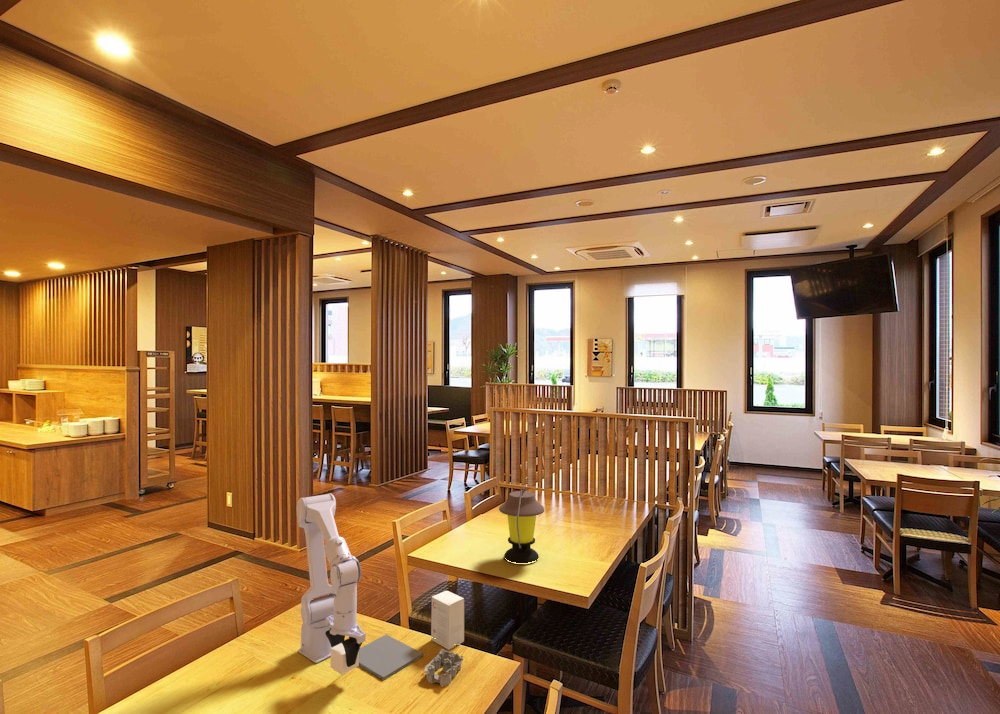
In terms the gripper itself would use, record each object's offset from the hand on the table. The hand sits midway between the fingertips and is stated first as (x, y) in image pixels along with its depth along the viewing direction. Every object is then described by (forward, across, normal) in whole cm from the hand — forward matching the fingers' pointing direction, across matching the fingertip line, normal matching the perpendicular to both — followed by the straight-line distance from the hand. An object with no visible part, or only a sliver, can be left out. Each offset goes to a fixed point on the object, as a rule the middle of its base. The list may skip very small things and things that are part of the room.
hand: (344, 660), depth 132 cm
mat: (+6, -1, +14) cm, 15 cm away
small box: (+6, +7, +31) cm, 32 cm away
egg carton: (+6, +17, +19) cm, 26 cm away
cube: (+2, 0, 0) cm, 2 cm away
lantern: (+6, -13, +97) cm, 98 cm away
